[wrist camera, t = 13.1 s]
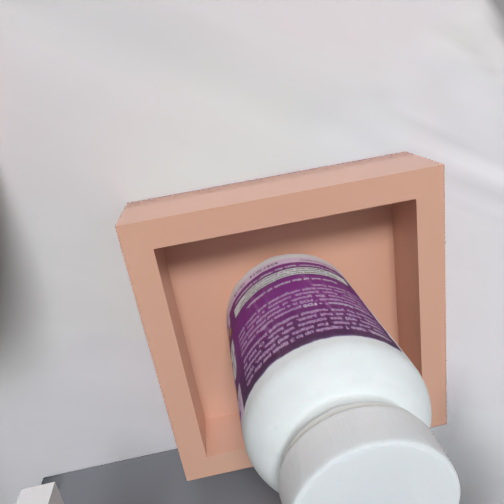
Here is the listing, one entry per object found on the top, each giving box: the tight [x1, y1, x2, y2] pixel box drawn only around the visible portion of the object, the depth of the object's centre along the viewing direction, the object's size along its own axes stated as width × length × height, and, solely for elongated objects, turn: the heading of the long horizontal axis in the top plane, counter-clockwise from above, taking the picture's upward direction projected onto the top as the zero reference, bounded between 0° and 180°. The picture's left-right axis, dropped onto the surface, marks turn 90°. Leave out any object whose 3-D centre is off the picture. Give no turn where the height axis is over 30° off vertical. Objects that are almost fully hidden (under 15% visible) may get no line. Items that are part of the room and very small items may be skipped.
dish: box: [115, 152, 447, 481], centre depth 18 cm, size 11×11×3 cm
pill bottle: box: [226, 254, 461, 504], centre depth 15 cm, size 5×5×10 cm
